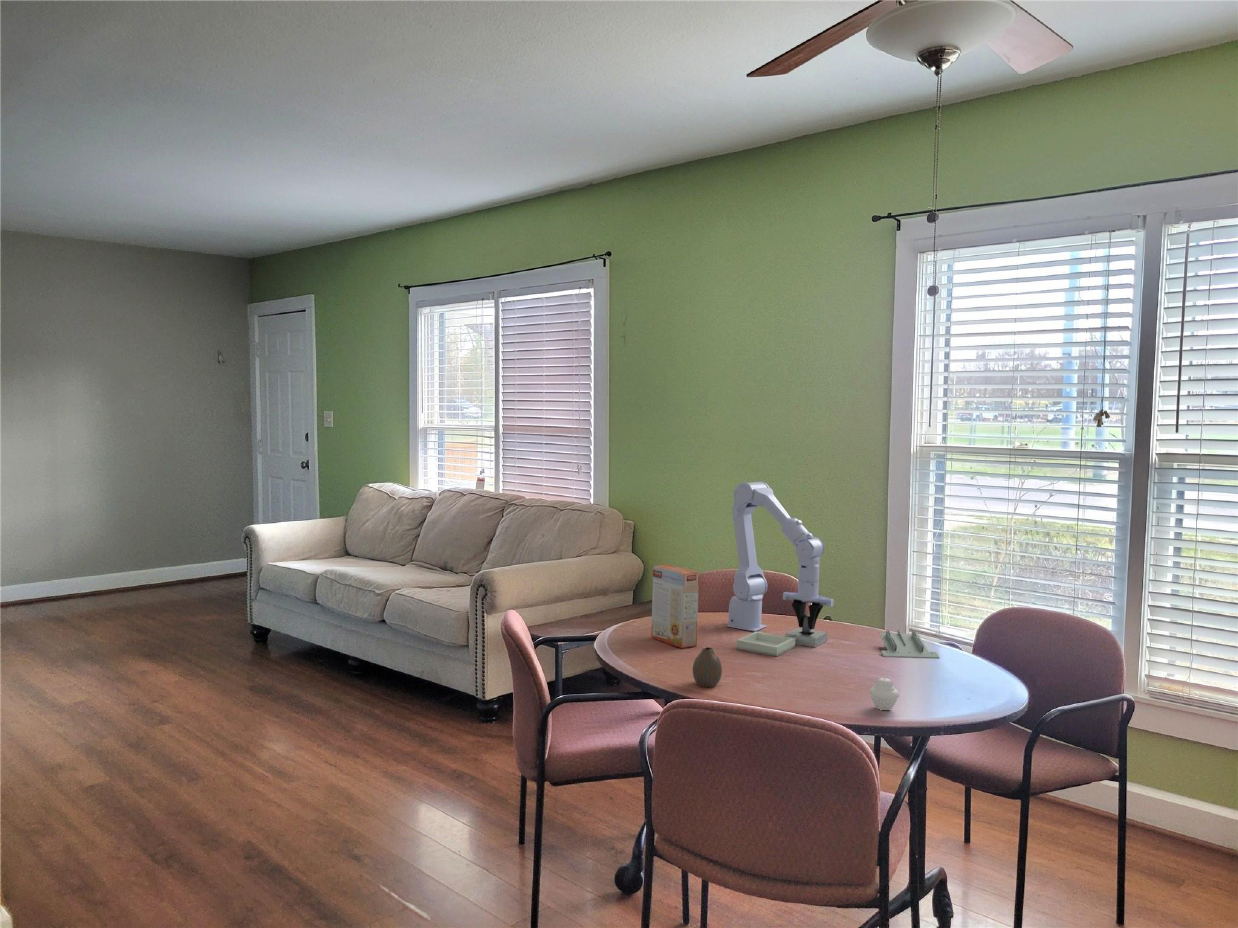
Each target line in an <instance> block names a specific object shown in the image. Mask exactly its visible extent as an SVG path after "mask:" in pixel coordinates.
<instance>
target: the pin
mask: <svg viewBox="0 0 1238 928" xmlns="http://www.w3.org/2000/svg"><path fill="white" fill-rule="evenodd" d="M809 623H810V614H808V613H807V614H806V613H805V614H804V615H802V627H801V628H802V634H807V635H811V630H812V629H809Z"/></svg>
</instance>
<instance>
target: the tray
mask: <svg viewBox="0 0 1238 928" xmlns="http://www.w3.org/2000/svg"><path fill="white" fill-rule="evenodd" d="M795 648H796V644H795V638H790V637H785V635H784V636H783V635H778V634H773V633H766V632H761V631H758V630H757V631H752V633H749V634H746V635H744V636H742V637H740V638H737V639H736V649H737V650H739V651H740V650H741V651H745V650H746V651H745V652H750V653H756V654H760V653H761V655H765V656H766V655H767V656H772V657H779V656H781V655H783V654H785V653H786V652H789V651H791V650H792V649H795Z"/></svg>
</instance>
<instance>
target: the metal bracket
mask: <svg viewBox="0 0 1238 928" xmlns="http://www.w3.org/2000/svg"><path fill="white" fill-rule="evenodd" d="M879 636H880V638H881V640H882V642H883V644H884V647H885V648H886V650H881V651H880V653H881V655H882V656H883V658H892V659H893V658H895V659H897V658H905V659H907V658H908V659H909V658H910V659H928V660H929V659H933V660H936V659H938V660H939V659H940V655H939V653H938V652H936V651H929V650H928V648H927V647H926V645H925V643H924V642H923V639H922V637H921V636H920V634H918V633H917V632H916V630H911V633H901V631H900V629H898V630H897V633H891V631H890V630H886V631H885V632H880V633H879Z"/></svg>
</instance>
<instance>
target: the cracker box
mask: <svg viewBox="0 0 1238 928" xmlns="http://www.w3.org/2000/svg"><path fill="white" fill-rule="evenodd" d="M652 569H653V570H652V599H651V601H652V602H651V606H652V607H651V608H652V609H651V634H650V635H651V636H650V638H652V639H655V640H658V641H661V642H662V643H663V642H664V643H666V644H669V645H670V646H673V647H677V648H679V649H687V648H692V647H697V644H698V643H697V642H698V618H699V614H698V613H699V586H700V584H699V583H700V572H698V571H695V570H693V569H692V570H690V569H686V568H683V567H678V566H675V565H671V564H660V565H654V566H653V568H652Z"/></svg>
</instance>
